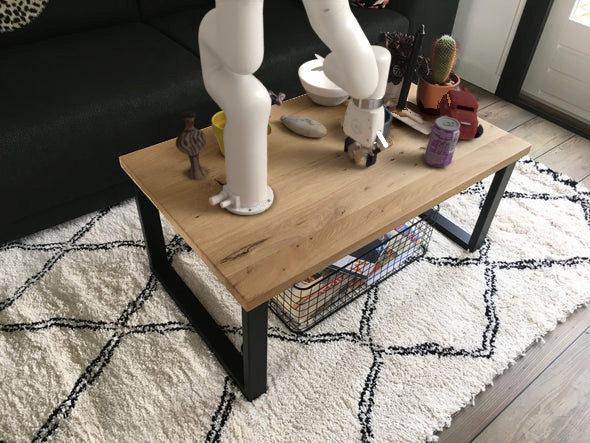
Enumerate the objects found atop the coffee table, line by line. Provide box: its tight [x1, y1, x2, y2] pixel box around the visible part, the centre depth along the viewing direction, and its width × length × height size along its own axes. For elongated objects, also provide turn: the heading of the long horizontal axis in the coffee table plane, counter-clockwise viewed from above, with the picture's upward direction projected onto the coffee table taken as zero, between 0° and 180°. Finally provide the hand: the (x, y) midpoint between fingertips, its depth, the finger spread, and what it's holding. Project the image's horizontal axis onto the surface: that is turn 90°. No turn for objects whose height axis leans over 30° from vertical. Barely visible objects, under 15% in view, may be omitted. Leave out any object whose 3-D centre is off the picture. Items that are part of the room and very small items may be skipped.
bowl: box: [297, 58, 351, 107], centre depth 156 cm, size 19×20×8 cm
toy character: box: [346, 141, 369, 164], centre depth 133 cm, size 4×8×6 cm
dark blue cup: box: [382, 107, 393, 140], centre depth 143 cm, size 12×12×6 cm
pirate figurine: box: [266, 88, 287, 137], centre depth 138 cm, size 14×13×15 cm
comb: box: [390, 107, 435, 136], centre depth 148 cm, size 15×2×10 cm
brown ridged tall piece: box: [175, 110, 207, 180], centre depth 122 cm, size 7×5×18 cm
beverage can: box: [423, 116, 460, 168], centre depth 132 cm, size 7×7×12 cm
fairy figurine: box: [311, 53, 325, 72], centre depth 151 cm, size 6×7×7 cm
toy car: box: [436, 83, 484, 141], centre depth 148 cm, size 15×28×10 cm, turn 177°
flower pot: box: [211, 110, 226, 156], centre depth 132 cm, size 10×10×10 cm
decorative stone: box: [279, 115, 328, 138], centre depth 143 cm, size 6×16×3 cm, turn 60°
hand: (359, 157), depth 134 cm, fingers closed on toy character, 7 cm apart
